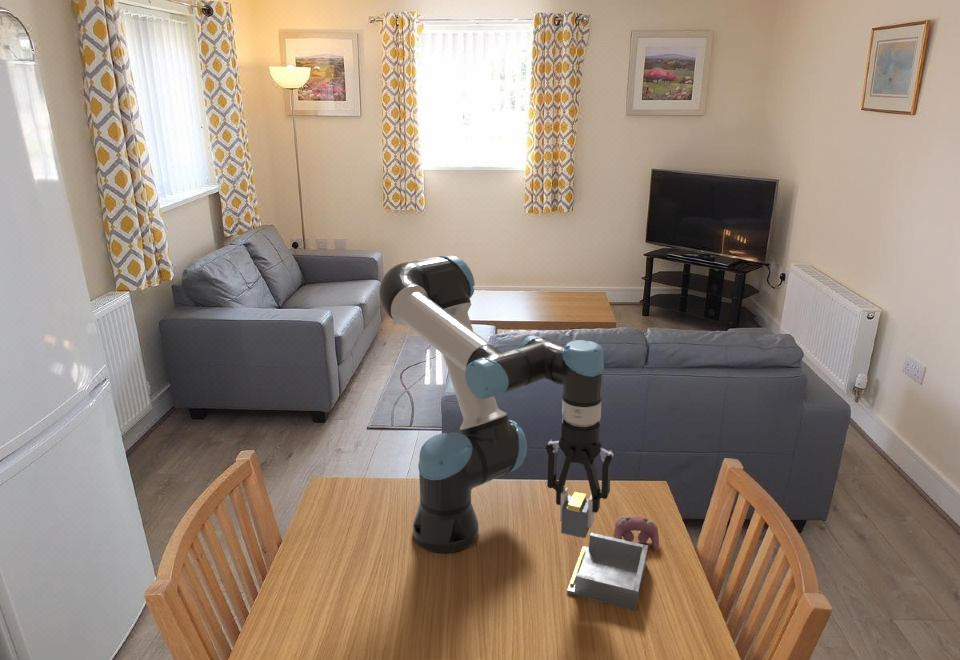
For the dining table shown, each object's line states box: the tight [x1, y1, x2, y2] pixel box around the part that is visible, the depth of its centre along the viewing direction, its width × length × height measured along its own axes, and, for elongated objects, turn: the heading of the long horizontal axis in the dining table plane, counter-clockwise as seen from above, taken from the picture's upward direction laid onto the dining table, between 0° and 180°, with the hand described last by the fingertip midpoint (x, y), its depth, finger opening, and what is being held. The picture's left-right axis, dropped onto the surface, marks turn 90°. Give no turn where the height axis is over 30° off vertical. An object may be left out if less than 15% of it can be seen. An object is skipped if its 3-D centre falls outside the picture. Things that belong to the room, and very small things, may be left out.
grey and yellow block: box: [560, 491, 590, 539], centre depth 141 cm, size 5×5×7 cm
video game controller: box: [613, 516, 660, 552], centre depth 156 cm, size 10×5×7 cm, turn 85°
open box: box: [566, 532, 649, 612], centre depth 145 cm, size 14×15×5 cm
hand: (576, 520), depth 142 cm, fingers closed on grey and yellow block, 5 cm apart
